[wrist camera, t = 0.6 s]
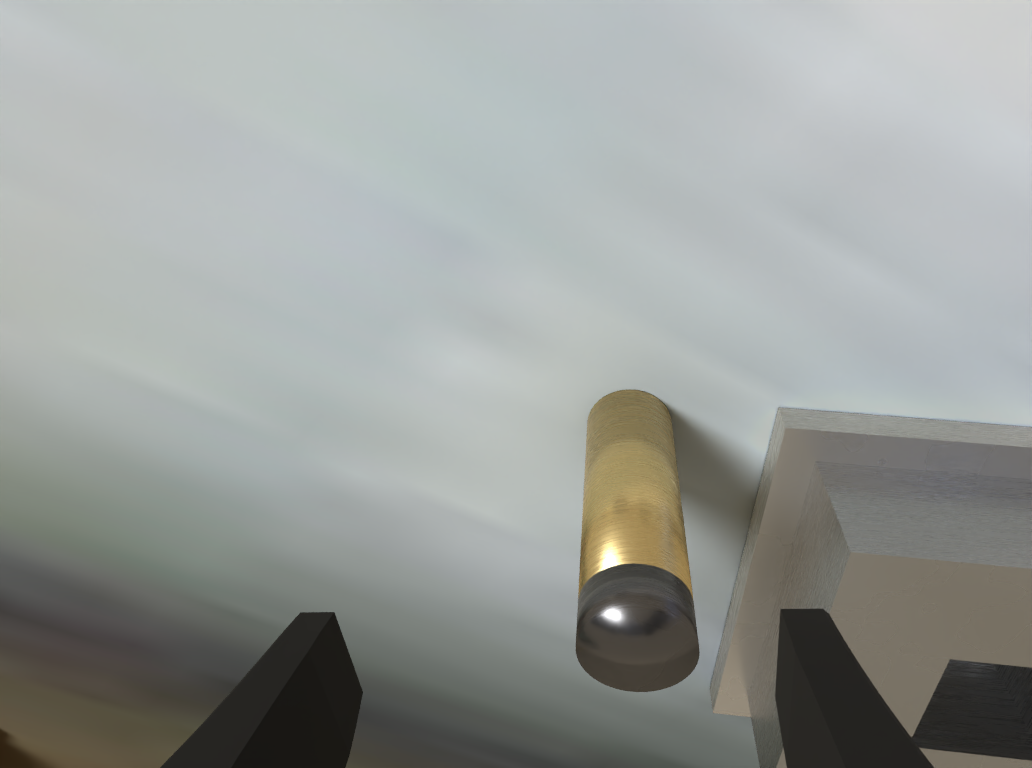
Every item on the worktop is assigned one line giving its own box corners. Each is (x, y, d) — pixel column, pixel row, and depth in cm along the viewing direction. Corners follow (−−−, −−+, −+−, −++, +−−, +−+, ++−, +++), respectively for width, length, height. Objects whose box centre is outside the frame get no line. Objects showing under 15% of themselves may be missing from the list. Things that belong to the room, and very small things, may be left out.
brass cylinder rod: (676, 392, 21) (708, 615, 14) (665, 462, 22) (689, 698, 15) (590, 386, 21) (580, 602, 14) (584, 455, 22) (572, 684, 15)
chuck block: (1244, 443, 20) (1396, 566, 16) (1061, 726, 26) (1139, 864, 22) (778, 407, 21) (816, 514, 17) (709, 688, 27) (726, 813, 23)
